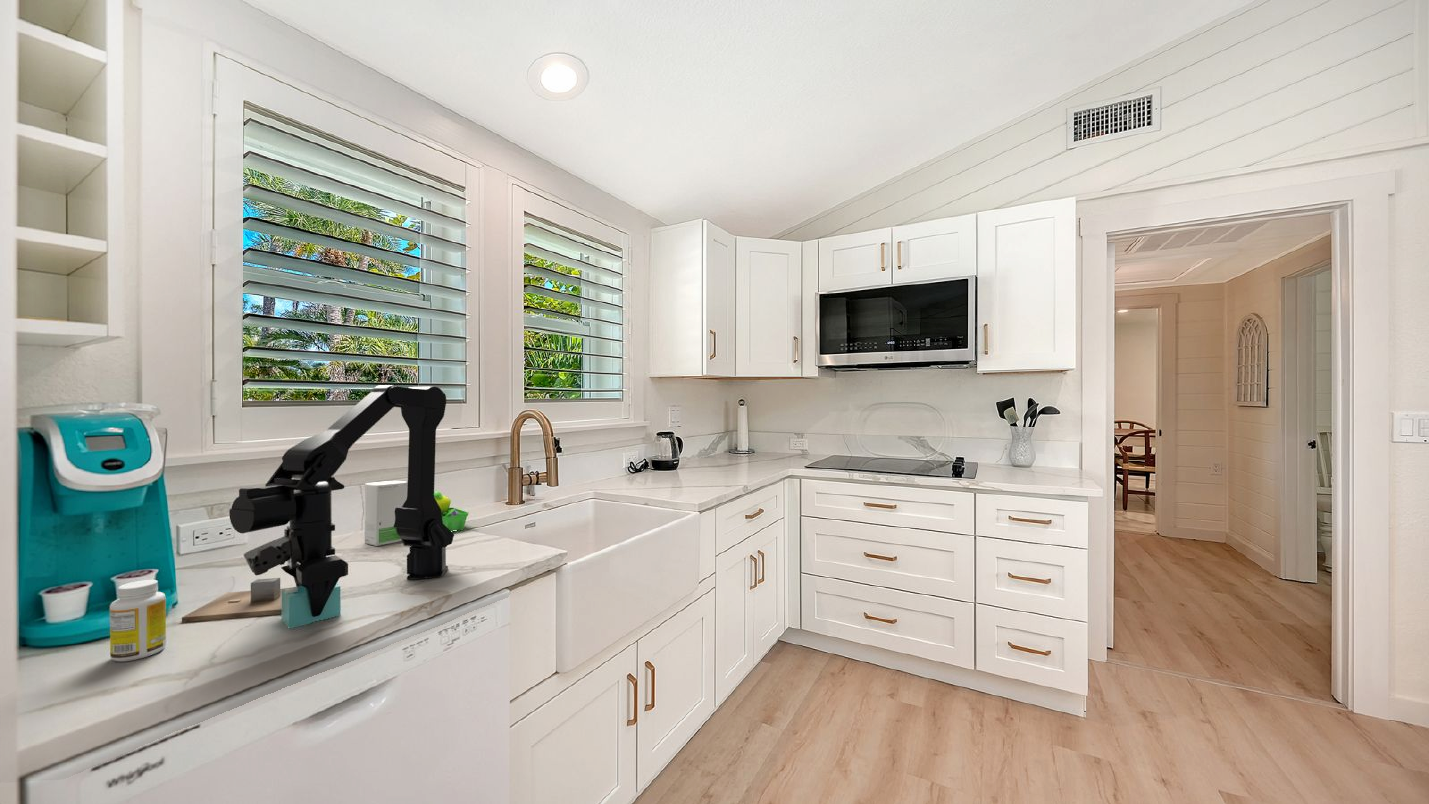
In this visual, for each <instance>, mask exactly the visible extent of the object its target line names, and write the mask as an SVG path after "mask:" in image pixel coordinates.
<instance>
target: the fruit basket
mask: <svg viewBox="0 0 1429 804" xmlns="http://www.w3.org/2000/svg"><path fill="white" fill-rule="evenodd" d="M434 497H435V500H436V501H437V503H438V505H439V507H440V509H441V511H442V520H443V524H444V525H445V526H446V527H447V528H448V529H449V530H450V531H453V530H462V531H464V528H465V524H466V523H467V517H468V516H469V511H466V510H462V509H459V508H456V507H450V505H451V502H452V501H451V499H450V498H449V497H447V496H445V495H444V494H442V493H441V492H440V491H434Z"/></svg>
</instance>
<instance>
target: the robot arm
mask: <svg viewBox="0 0 1429 804" xmlns="http://www.w3.org/2000/svg"><path fill="white" fill-rule="evenodd" d="M446 407H447V395H446V393H444V391H443V390H442V388H440V387H438V386H409V387H404V386H398V385H394V384H391V385H390V384H388V385H387V384H385V385H383V384H382V385H381V384H380V385H376V386H375V387H373V388H372V389H371V390H370V392H369V393H368V394H367V395H366V396H365V397H363V398H362V399H361V400H360V401H359V402H358V403H356V404H355V405H354V406H353V407H352V408H351V409H349V410H348V411H347V412H346V413H344V414H343V415H342V416H341V417H340V418H339V419H337V421H336V422H334V423H333V424H332V425H330V426H329V427H328V428H327V429H326V430H323V431H322V432H320V433H318V434H315V435H313V436H311V437H308V438H306V439H304V440H302V441H301V442H299V443H297V444H295V445H294V446H292V447H290V448H289V449H288V450H286V451H285V452H284V454H283V455H282V458H281V460H282V462H281V463H280V465H279V466H278V467H277V469H276V470H275V471H274V473H273V474H272V475H271V477H270V478H269V480H268V481H267V482H266V484H264V485H265V486H259V487H252V486H251V487H242V488H238V496H237V497H236V498H234V501H233V503H232V504H231V508H230V509H229V513H228V514H229V520H230V524H231V527H232V528H233V529H234V530H235V531H236V532H237V533H239V534H247V533H252V532H257V531H263V530H267V529H270V528H271V529H272V528H276V527H277V528H278V527H280V526H286V525H287V524H288V523H289V525H287V526H286V528H284V530H283V531H284V535H283V536H281V537H279V538H276V539H273V540H271V541H269V542H266V543H264V544H262V545H259V546H258V547H255V548H253V549H251V550H248V551H246V552H245V553H243V557H244V559H245V561H246V563H247V565H248V566H249V568H250V570H251V572H252V573H253V574H254V576H261V575H263V574H265V573H267V572H268V571H269V570H271V569H273V568H275V567H278V566H281V568H280V569H281V570H283V572H284V573H286V574H288V575H289V576H292V577H293V579H294V583H295V587H297V586H303V587H305V588H306V592H307V597H308V601H309V606H310V610H311V614H312V616H313V617H316V616H319V615H321V613H322V611H323V609H324V607H325V605H326V603H327V601H328V599H329V597H330V595H331V593H332V591H333V589H334V587H335V586H336V584H338V582H339V580H340V578H343V577H346V576H348V575H349V563H348V562H347V561H345V560H344V559H342V558H341V557H339V556H337V555H336V548H334V547H333V546H332V545H333V544H332V543H333V542H332V540H333V539H332V536H333V535H332V532H334V531H335V532H336V524H334V523H333V522H332V515H333V514H332V509H333V508H332V492H334V491H339V490H344V489H345V485H344V484H342V483H341V482H340V481H338V480H337V479H336V478H335V477H334V475H335V474H336V473H337V471H338V470H339V469H340V468H341V467H342V465H343V464H344V463H345V461H347V460H346V459H347V457H348V454H349V451H350V449H351V448H352V446H353V445H354V444H356V442H357V441H358V440H359V439H361V438H362V437H363V436H364V435H365V434H366V433H367V432H368V431H369V430H371V429H372V428H373V427H374V426H375V425H376V424H377V423H378V422H379V421H380V420H382V418H383V417H385V415H387V414H388V413H389V412H390V411H391V410H393V408H400V411H401V417H402V419H403V421H404V422H405V424H406V427H408V458H407V459H408V460H407V463H408V464H407V482H408V488H407V499H406V501H405V502H404V504H403V506H402V507H396V508H395V523H394V526H393V527H395V528H396V531H397V534H398V535H399V536H400V537H401V539H402V541H401V542H402V544H403V546H404V547H407V546H408V547H409V553H408V554H406V575H407V576H406V579H407V580H416V579H417V580H418V579H428V578H429V579H431V578H440V577H442V576H443V575H444V574H445V573H446V571H447V570H448V569H449V566H448V565H446V564H447V563H446V562H447V561H446V560H447V553H446V552H447V549H446V548H447V547H448V546H450V545H452V544H453V540H454V536H455V534H454V533H455V532H451V531H450V530H449V529H448V528H447V527H446V526H445V525H444V524H443V520H442V511H441V509H440V507H439V505H438V503H437V501H436V500H435V497H434V492H435V476H436V473H435V472H436V471H435V470H436V445H437V444H436V440H437V438H436V437H437V428H438V427H439V425H440V423H441V422H442V420H443V418H444V416H445V412H446ZM285 563H286V564H285Z"/></svg>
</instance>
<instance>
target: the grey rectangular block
mask: <svg viewBox="0 0 1429 804" xmlns="http://www.w3.org/2000/svg"><path fill="white" fill-rule="evenodd" d="M280 589H281V577H272V578H271V577H270V578H269V577H268V578H259V579H257V578H256V579H255V580H254V581H252V582H250V591H251V602H263V601H275V600H276V599H278V598H279V597H280Z"/></svg>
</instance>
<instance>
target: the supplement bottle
mask: <svg viewBox="0 0 1429 804" xmlns="http://www.w3.org/2000/svg"><path fill="white" fill-rule="evenodd" d="M158 583H159V581H158V580H156V579H143V580H138V581H137V580H136V581H132V582H127V583H125V584H124V583H123V584H122V585H120V586H118V587H117V599H115V600H114V601H112V602H111V603H110V604H109V635H110V636H109V638H110V639H109V644H110V645H109V649H110V650H109V651H110V652H109V653H110V658H111V660H112V661H114V662H129V661H134V660H140V659H143V658H144V659H145V658H147V657H150V656H152V655H155V654H157V653H159V652H161V651H162V650H163V649H164V648H165V647H166V646H167V607H166V606H167V605H166V603H167V602H166V601H167V600H166V599H167V597H166V595H165V593H164V592H161V591H159V584H158Z"/></svg>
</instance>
